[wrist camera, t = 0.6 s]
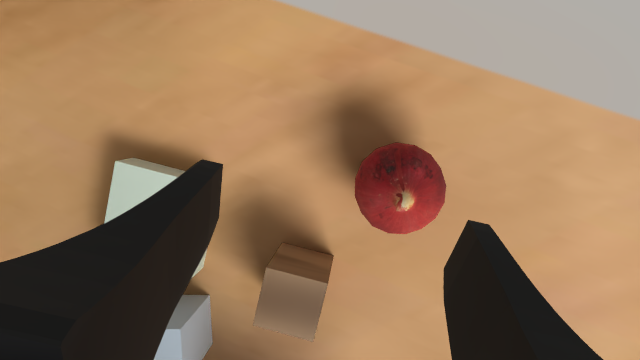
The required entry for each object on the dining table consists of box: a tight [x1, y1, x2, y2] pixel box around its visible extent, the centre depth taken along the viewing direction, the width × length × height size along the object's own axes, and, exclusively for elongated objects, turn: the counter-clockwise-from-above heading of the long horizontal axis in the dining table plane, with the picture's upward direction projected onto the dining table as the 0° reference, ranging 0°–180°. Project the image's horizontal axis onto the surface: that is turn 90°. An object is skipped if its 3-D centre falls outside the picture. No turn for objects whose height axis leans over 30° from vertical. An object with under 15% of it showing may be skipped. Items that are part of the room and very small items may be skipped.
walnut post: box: [253, 243, 333, 342], centre depth 33 cm, size 4×4×6 cm
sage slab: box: [104, 158, 207, 277], centre depth 35 cm, size 7×7×3 cm
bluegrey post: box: [154, 295, 213, 360], centre depth 34 cm, size 4×4×6 cm
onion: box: [355, 143, 446, 234], centre depth 30 cm, size 6×6×8 cm
